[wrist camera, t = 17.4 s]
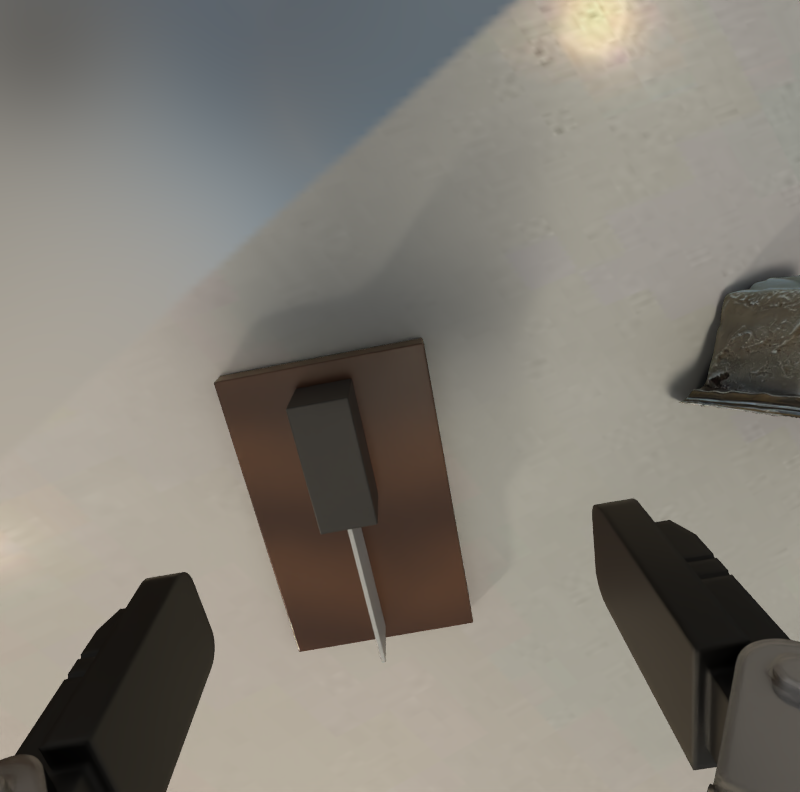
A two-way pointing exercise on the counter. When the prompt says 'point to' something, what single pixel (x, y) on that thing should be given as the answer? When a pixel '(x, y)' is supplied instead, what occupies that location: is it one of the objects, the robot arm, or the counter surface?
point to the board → (397, 498)
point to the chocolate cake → (757, 351)
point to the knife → (339, 475)
